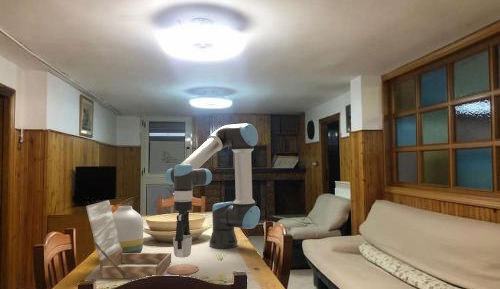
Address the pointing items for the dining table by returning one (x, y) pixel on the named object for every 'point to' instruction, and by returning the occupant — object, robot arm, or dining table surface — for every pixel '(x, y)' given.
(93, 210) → the cold frame
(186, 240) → the cup
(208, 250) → the dining table surface
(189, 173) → the robot arm
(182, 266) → the saucer
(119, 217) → the vase
